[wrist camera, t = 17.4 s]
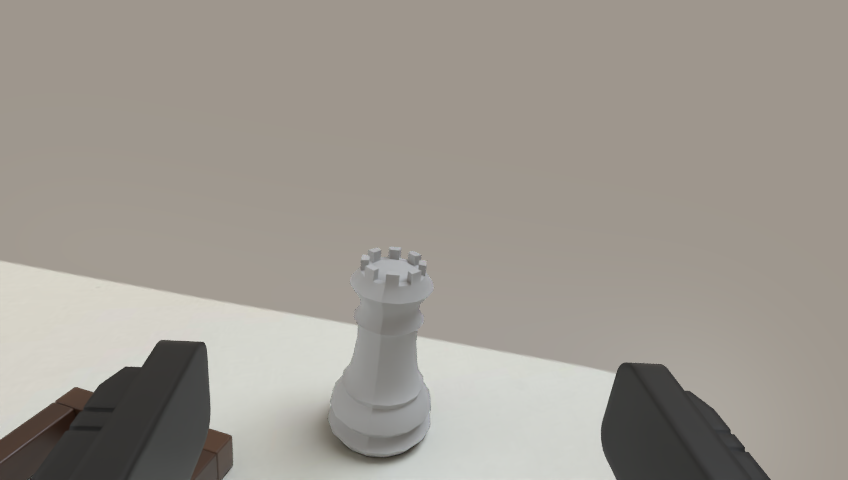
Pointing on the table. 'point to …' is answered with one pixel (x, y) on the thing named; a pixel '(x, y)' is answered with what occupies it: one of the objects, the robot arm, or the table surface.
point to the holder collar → (33, 441)
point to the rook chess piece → (384, 359)
